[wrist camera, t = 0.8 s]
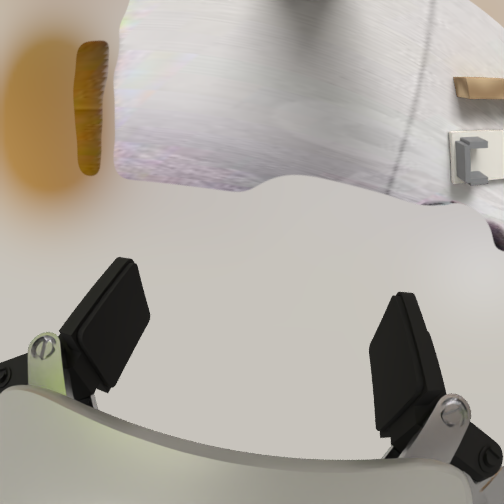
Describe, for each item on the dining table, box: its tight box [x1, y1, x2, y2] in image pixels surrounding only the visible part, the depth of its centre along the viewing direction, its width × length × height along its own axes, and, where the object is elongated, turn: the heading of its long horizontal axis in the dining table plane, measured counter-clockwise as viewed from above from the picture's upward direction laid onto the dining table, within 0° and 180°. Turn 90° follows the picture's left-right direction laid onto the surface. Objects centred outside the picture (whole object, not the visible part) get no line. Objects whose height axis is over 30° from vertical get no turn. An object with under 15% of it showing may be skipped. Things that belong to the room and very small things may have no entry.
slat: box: [453, 77, 504, 99], centre depth 24 cm, size 3×16×4 cm, turn 108°
